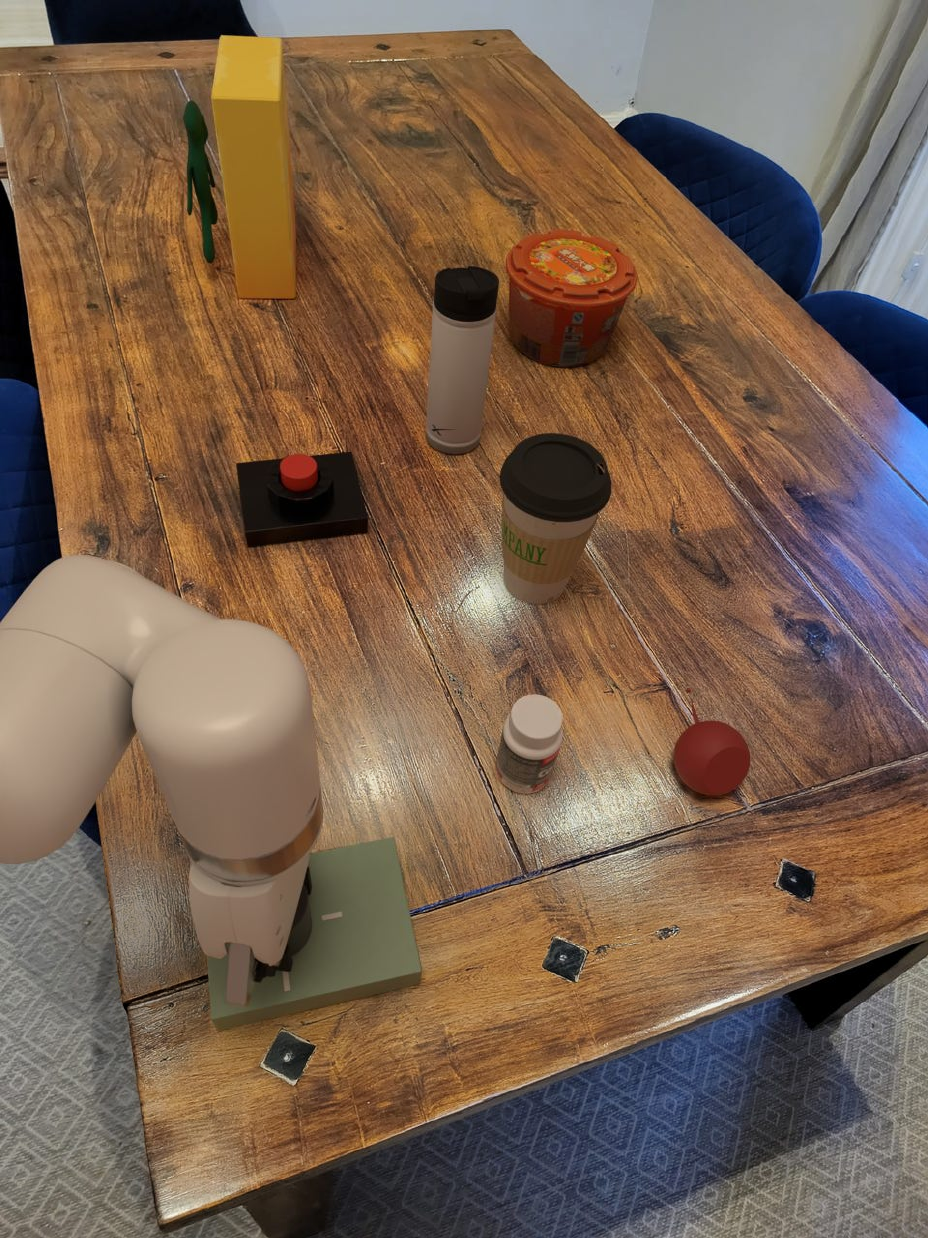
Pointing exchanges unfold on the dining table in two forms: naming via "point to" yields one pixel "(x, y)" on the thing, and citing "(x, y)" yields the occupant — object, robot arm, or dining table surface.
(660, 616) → the dining table surface
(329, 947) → the panel
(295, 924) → the knob
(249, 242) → the toys
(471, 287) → the travel mug
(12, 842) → the robot arm
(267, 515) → the switch block
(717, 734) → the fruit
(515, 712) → the pill bottle
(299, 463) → the button
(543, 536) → the coffee cup
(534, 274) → the food container
